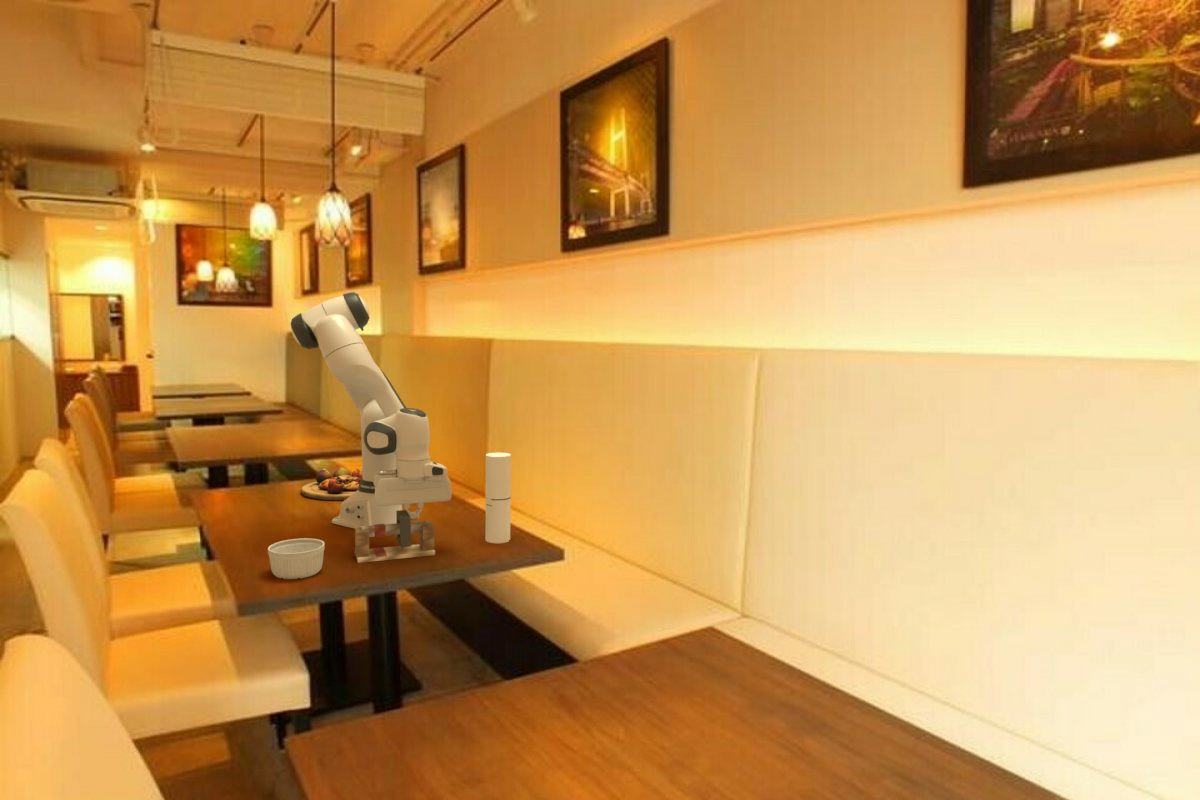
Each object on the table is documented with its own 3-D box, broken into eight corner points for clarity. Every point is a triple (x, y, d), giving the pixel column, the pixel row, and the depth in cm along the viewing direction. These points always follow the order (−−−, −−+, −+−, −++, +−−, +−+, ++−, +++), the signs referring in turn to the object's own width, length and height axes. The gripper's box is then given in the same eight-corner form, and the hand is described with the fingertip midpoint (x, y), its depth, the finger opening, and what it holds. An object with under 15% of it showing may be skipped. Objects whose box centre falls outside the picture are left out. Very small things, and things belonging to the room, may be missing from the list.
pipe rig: (357, 562, 198) (357, 531, 197) (354, 554, 205) (354, 523, 205) (435, 554, 206) (435, 524, 205) (429, 546, 213) (429, 517, 212)
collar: (401, 547, 202) (400, 517, 201) (396, 539, 209) (396, 510, 209) (410, 546, 203) (410, 517, 202) (405, 538, 210) (405, 510, 210)
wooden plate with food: (360, 505, 260) (360, 481, 259) (281, 496, 268) (281, 473, 268) (409, 488, 290) (409, 466, 289) (336, 481, 299) (336, 460, 298)
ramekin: (256, 576, 186) (255, 549, 186) (295, 561, 199) (294, 535, 198) (299, 584, 182) (298, 556, 181) (336, 568, 194) (336, 541, 193)
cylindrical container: (505, 544, 217) (506, 457, 214) (481, 542, 218) (482, 456, 216) (513, 537, 224) (514, 453, 221) (490, 535, 225) (490, 451, 223)
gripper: (374, 473, 198) (375, 525, 200) (453, 468, 206) (453, 518, 208) (371, 469, 204) (372, 519, 205) (447, 464, 212) (447, 513, 214)
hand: (413, 519), depth 207 cm, fingers closed
